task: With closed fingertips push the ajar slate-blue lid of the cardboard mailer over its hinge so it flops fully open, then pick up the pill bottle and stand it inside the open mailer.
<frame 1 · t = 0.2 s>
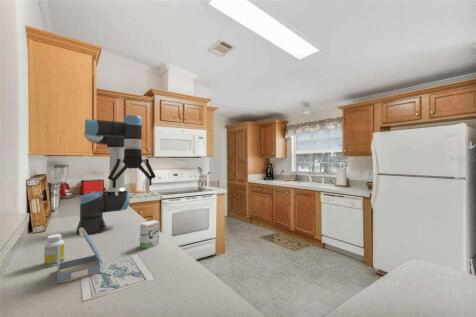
hand: (132, 193, 105), 28 cm above the countertop, fingers open, 13 cm apart
ink box: (149, 245, 115), on the countertop
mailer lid: (90, 245, 90), point 9 cm above the countertop, hinge at 65.0°
pill bottle: (54, 263, 95), on the countertop
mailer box: (78, 271, 88), on the countertop
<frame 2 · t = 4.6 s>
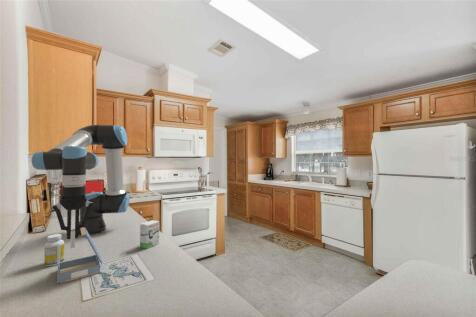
hand: (72, 246, 87), 10 cm above the countertop, fingers closed
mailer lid: (90, 244, 90), point 10 cm above the countertop, hinge at 67.4°, touching gripper
everything else where it was.
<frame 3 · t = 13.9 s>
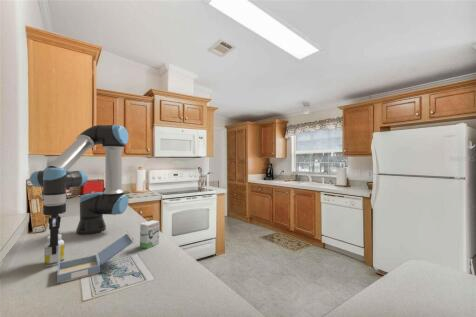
hand: (54, 258, 95), 2 cm above the countertop, fingers closed on pill bottle, 6 cm apart
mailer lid: (115, 246, 96), point 7 cm above the countertop, hinge at 150.8°
pill bottle: (54, 263, 95), on the countertop, touching gripper
everything else where it was.
when the fingers open (5 cm above the countertop, at t = 18.8 s): pill bottle drops 2 cm, resting on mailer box.
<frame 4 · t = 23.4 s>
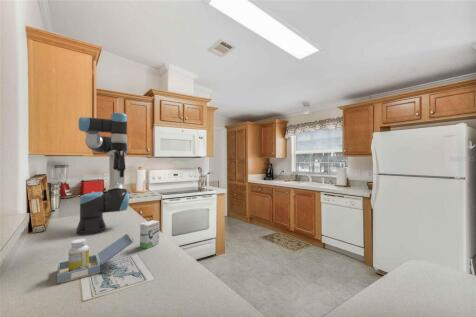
hand: (118, 182, 119), 32 cm above the countertop, fingers open, 13 cm apart
pill bottle: (78, 270, 88), resting on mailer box
everything else where it was.
at the end: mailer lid at +151° (first picture: +65°); pill bottle inside the target area on the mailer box (0.1 cm from its centre), point 0.3 cm above the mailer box's base; pill bottle tilted 0° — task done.
